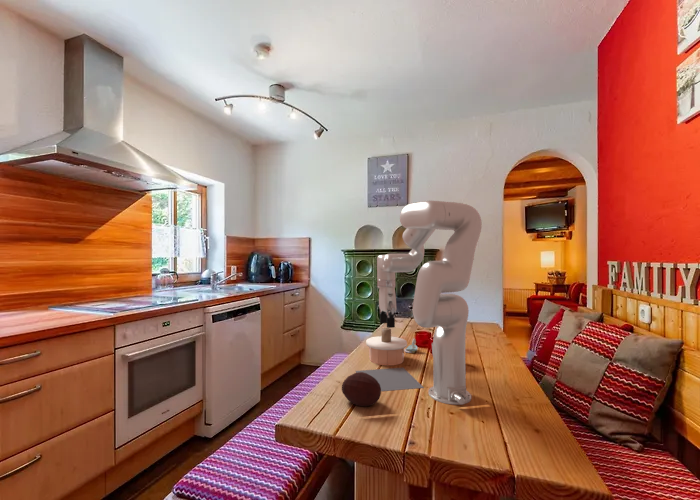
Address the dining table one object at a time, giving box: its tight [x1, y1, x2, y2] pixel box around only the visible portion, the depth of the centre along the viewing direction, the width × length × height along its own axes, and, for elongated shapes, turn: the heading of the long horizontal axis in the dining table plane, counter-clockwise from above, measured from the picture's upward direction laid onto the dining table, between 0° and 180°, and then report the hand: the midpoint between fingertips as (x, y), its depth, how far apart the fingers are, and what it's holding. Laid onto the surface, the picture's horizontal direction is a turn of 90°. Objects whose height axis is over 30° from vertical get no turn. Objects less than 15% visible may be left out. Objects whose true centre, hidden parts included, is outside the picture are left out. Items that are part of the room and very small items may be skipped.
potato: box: [341, 372, 382, 407], centre depth 91 cm, size 9×12×9 cm
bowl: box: [368, 347, 405, 366], centre depth 130 cm, size 14×14×7 cm
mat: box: [355, 367, 425, 392], centre depth 109 cm, size 19×19×1 cm
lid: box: [365, 327, 408, 350], centre depth 130 cm, size 17×17×6 cm
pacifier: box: [404, 337, 418, 354], centre depth 143 cm, size 7×6×6 cm
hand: (387, 325), depth 129 cm, fingers open, 9 cm apart
